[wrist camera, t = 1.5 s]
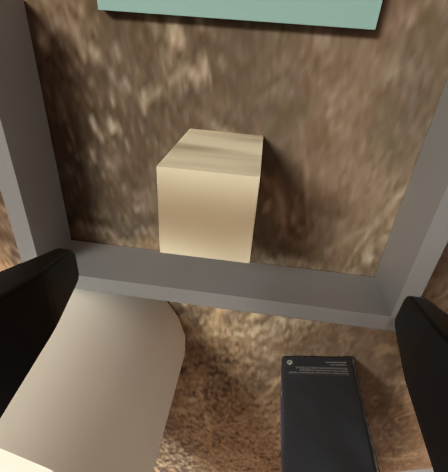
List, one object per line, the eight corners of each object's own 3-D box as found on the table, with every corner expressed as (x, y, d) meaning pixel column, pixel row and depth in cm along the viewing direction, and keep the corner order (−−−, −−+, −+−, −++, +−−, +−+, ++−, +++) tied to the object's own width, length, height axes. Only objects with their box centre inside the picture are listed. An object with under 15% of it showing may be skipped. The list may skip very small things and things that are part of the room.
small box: (276, 353, 30) (279, 490, 21) (354, 354, 29) (392, 499, 20) (282, 423, 35) (286, 557, 26) (348, 426, 34) (375, 567, 25)
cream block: (255, 203, 23) (249, 263, 17) (189, 195, 23) (159, 252, 17) (263, 135, 20) (260, 177, 14) (189, 128, 21) (156, 166, 15)
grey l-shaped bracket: (385, 291, 25) (403, 332, 22) (59, 250, 27) (28, 282, 23) (490, 33, 16) (547, 33, 13) (2, -2, 18) (-60, -10, 15)
